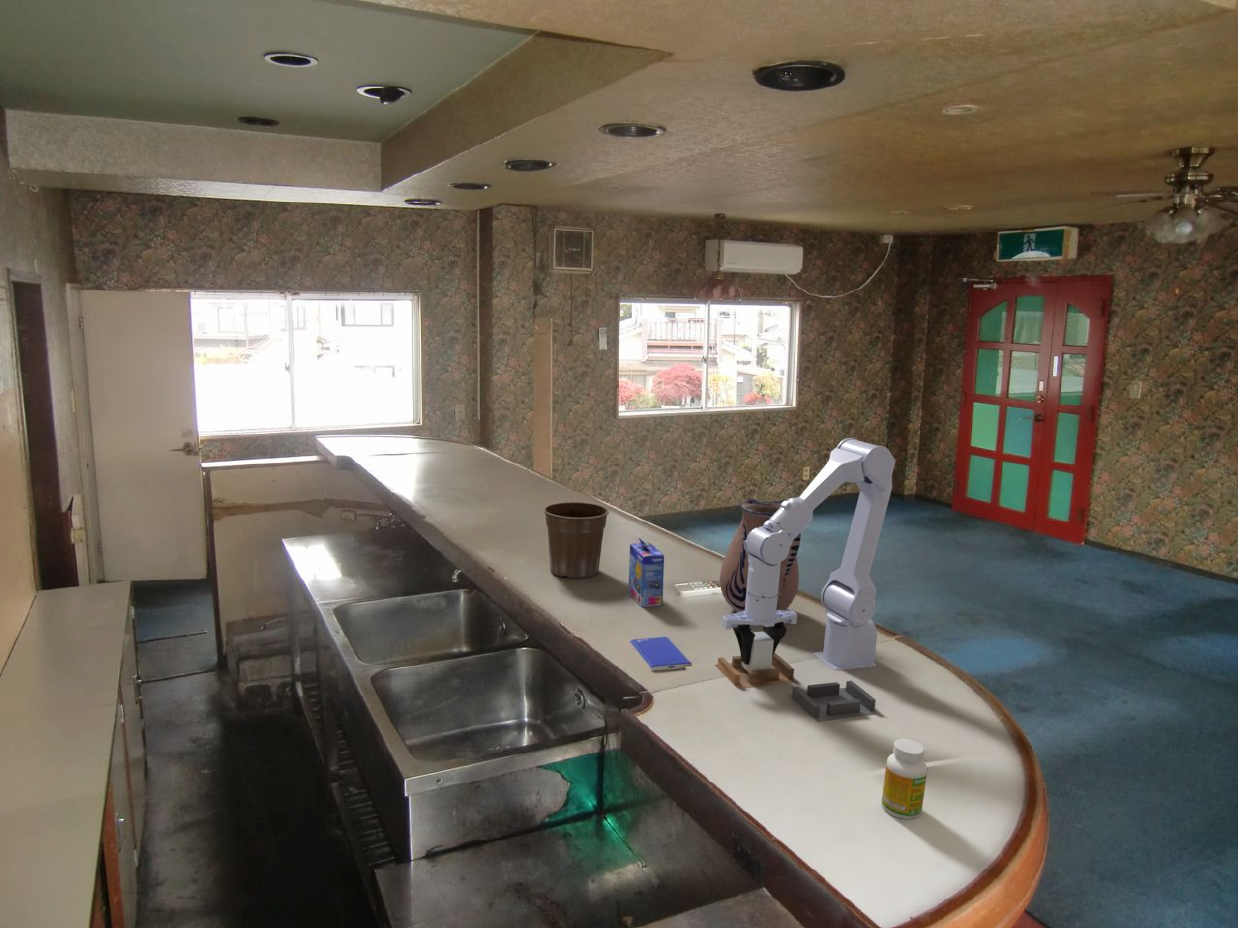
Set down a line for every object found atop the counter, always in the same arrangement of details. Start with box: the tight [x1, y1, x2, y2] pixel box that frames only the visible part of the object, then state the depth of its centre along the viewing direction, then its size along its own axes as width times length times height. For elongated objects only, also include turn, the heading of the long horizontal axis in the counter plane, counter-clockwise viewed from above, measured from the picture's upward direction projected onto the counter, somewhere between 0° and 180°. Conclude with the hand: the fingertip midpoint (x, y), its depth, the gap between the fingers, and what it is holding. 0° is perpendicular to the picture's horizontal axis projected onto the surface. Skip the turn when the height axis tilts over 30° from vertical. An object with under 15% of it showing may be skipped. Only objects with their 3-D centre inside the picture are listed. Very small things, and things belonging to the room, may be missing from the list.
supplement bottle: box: [881, 738, 928, 820], centre depth 118 cm, size 5×5×10 cm
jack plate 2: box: [788, 680, 879, 723], centre depth 148 cm, size 12×10×2 cm
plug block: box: [742, 631, 774, 671], centre depth 157 cm, size 4×4×6 cm
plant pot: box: [543, 501, 610, 579], centre depth 211 cm, size 16×16×16 cm
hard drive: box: [629, 636, 692, 672], centre depth 165 cm, size 2×8×12 cm
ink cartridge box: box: [627, 537, 665, 608], centre depth 194 cm, size 10×6×14 cm, turn 18°
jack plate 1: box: [714, 651, 797, 690], centre depth 158 cm, size 12×10×2 cm
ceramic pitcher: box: [719, 498, 802, 613], centre depth 187 cm, size 18×21×25 cm
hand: (756, 661), depth 158 cm, fingers closed on plug block, 4 cm apart
